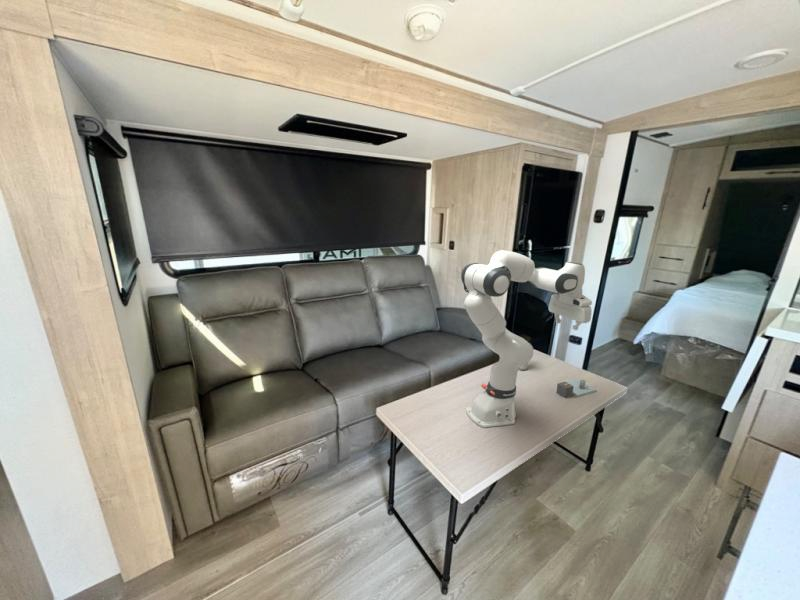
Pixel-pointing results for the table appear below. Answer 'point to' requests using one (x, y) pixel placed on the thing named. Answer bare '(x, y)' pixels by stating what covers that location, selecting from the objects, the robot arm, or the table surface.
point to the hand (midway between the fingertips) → (566, 326)
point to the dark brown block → (564, 389)
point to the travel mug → (528, 339)
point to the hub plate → (580, 387)
